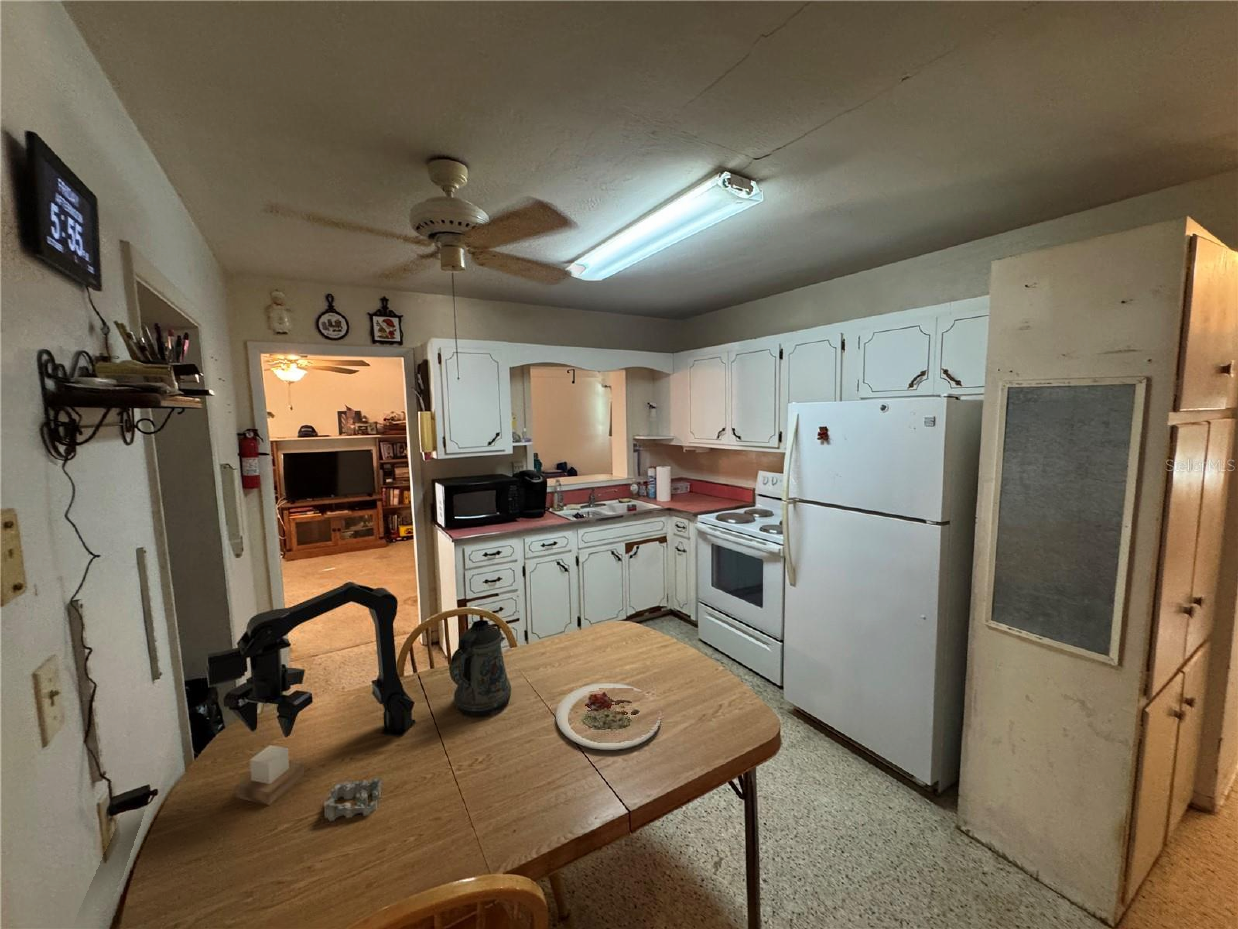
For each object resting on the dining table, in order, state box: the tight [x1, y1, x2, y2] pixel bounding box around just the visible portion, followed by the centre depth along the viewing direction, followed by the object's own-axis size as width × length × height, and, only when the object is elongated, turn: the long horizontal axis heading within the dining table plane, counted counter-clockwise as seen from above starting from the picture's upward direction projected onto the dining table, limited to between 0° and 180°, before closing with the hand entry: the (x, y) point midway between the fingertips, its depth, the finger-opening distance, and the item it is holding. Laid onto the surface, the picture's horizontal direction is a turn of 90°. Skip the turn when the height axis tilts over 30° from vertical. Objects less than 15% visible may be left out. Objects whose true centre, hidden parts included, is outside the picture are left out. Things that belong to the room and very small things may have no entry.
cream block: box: [249, 744, 290, 784], centre depth 112 cm, size 5×5×5 cm
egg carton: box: [322, 776, 382, 822], centre depth 107 cm, size 11×8×4 cm
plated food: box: [555, 682, 662, 751], centre depth 140 cm, size 30×30×3 cm
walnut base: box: [235, 760, 305, 806], centre depth 112 cm, size 9×9×3 cm
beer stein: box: [448, 619, 512, 719], centre depth 143 cm, size 16×19×25 cm
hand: (270, 733), depth 113 cm, fingers open, 9 cm apart
